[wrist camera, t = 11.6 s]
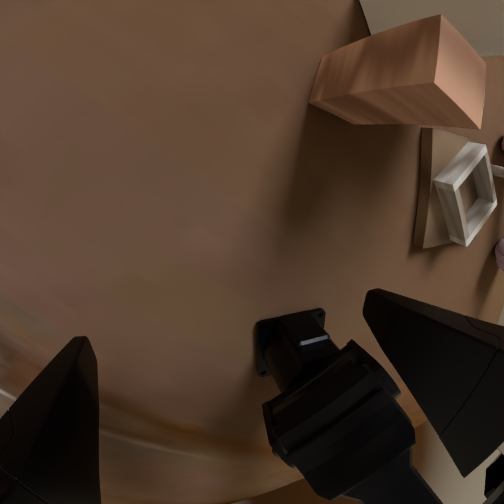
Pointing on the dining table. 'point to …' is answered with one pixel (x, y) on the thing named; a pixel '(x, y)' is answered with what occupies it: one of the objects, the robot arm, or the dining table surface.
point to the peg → (404, 78)
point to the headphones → (500, 245)
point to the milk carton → (454, 10)
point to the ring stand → (453, 189)
